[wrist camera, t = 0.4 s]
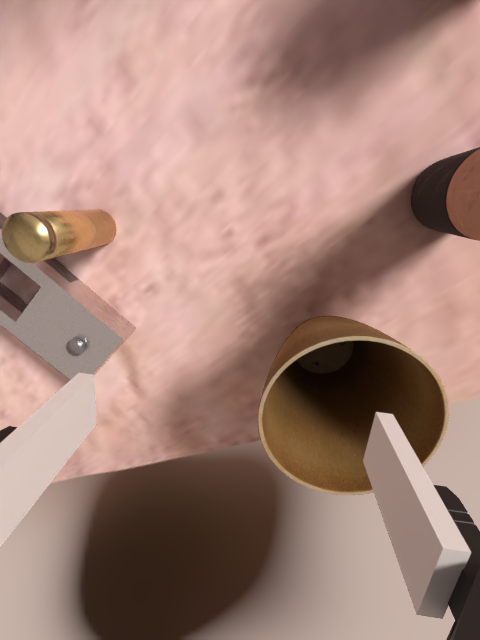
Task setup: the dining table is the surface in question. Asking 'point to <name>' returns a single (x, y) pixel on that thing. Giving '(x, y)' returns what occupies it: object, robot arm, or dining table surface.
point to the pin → (56, 233)
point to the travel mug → (450, 195)
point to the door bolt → (61, 317)
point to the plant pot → (345, 402)
